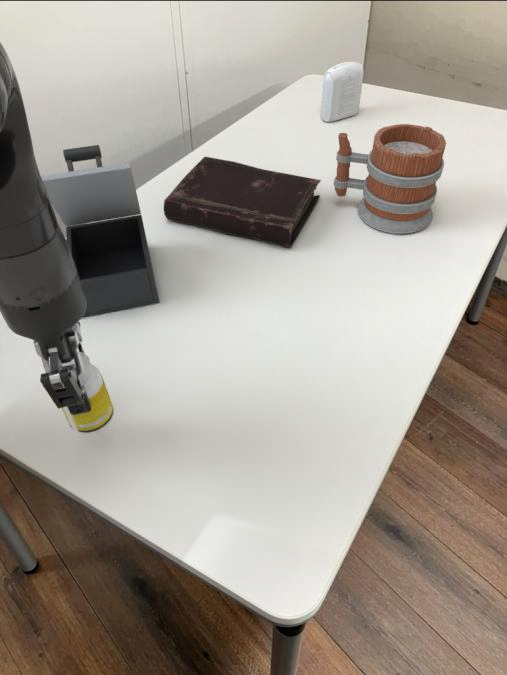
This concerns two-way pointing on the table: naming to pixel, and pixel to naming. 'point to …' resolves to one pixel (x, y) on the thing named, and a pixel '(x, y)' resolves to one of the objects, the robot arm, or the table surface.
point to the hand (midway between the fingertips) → (80, 389)
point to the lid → (92, 189)
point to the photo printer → (341, 91)
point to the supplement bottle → (91, 401)
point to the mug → (395, 177)
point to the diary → (243, 201)
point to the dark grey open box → (113, 264)
